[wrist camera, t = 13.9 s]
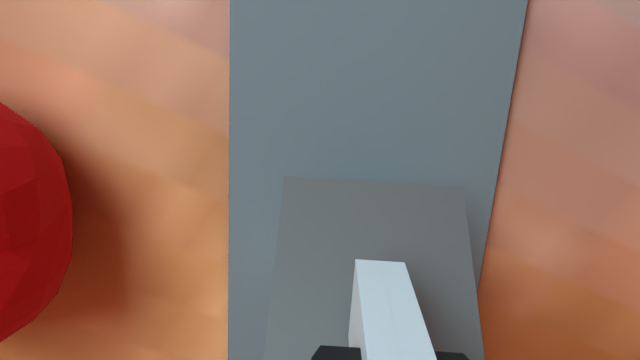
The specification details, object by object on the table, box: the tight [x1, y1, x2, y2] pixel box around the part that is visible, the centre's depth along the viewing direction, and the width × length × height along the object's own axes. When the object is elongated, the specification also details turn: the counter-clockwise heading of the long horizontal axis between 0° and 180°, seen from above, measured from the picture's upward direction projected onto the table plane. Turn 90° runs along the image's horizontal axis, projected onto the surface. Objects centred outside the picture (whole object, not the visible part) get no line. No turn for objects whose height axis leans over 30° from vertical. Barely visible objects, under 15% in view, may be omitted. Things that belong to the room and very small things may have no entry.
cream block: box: [263, 176, 485, 360], centre depth 20 cm, size 7×7×7 cm
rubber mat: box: [228, 0, 528, 360], centre depth 25 cm, size 13×28×1 cm, turn 177°
